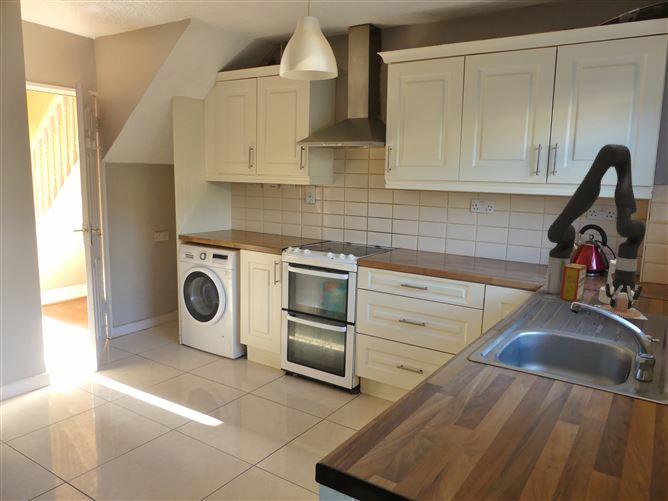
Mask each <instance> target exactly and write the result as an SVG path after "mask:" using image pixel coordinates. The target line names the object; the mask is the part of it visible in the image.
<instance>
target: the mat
mask: <svg viewBox="0 0 668 501" xmlns="http://www.w3.org/2000/svg"><path fill="white" fill-rule="evenodd" d="M593 306H594V307H595V306H598V307H600V306H602V305H599V304H594V305H593ZM631 308H632V309H635V310H637V309H636V308H634V307H631ZM625 318H626V319H636V320H646V321H647V320H648V321H649V318H647V317H646V316H645V315H643V314H642V313H641V316H640V317H633V318H631V317H624V319H625Z"/></svg>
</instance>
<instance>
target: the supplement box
mask: <svg viewBox="0 0 668 501" xmlns="http://www.w3.org/2000/svg"><path fill="white" fill-rule="evenodd" d="M616 260H617V259H616ZM616 260H615V259H610V261H609V266H608V267H609V268H608V274H607V283H612V281H613V280H614V273H615V265H616ZM611 287H614V286H613V285H612V286H611Z"/></svg>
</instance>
